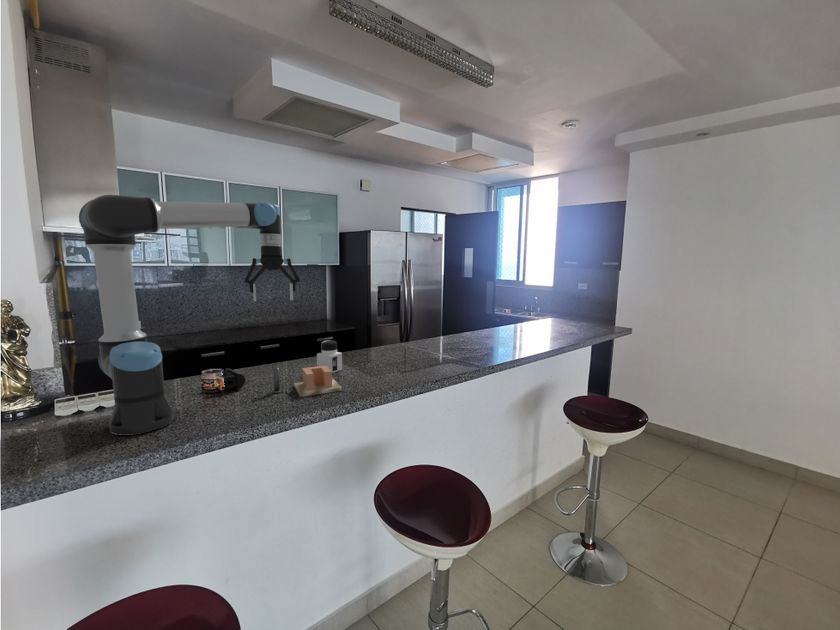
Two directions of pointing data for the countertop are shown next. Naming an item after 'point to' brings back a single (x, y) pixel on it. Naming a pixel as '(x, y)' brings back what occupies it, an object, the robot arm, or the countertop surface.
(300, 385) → the board
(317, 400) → the countertop surface
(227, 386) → the end cap
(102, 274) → the robot arm
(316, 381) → the c link
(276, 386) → the stand
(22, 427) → the countertop surface
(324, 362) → the container
